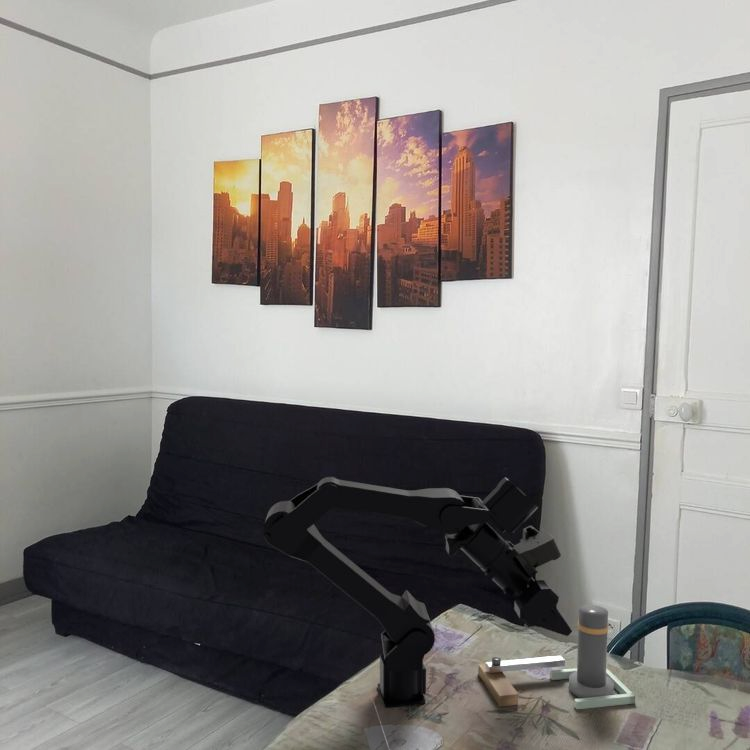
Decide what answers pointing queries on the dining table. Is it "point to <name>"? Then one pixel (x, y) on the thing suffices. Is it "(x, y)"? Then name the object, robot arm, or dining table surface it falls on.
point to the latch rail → (498, 686)
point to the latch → (524, 663)
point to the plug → (591, 654)
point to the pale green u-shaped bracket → (601, 701)
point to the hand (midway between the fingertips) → (560, 620)
